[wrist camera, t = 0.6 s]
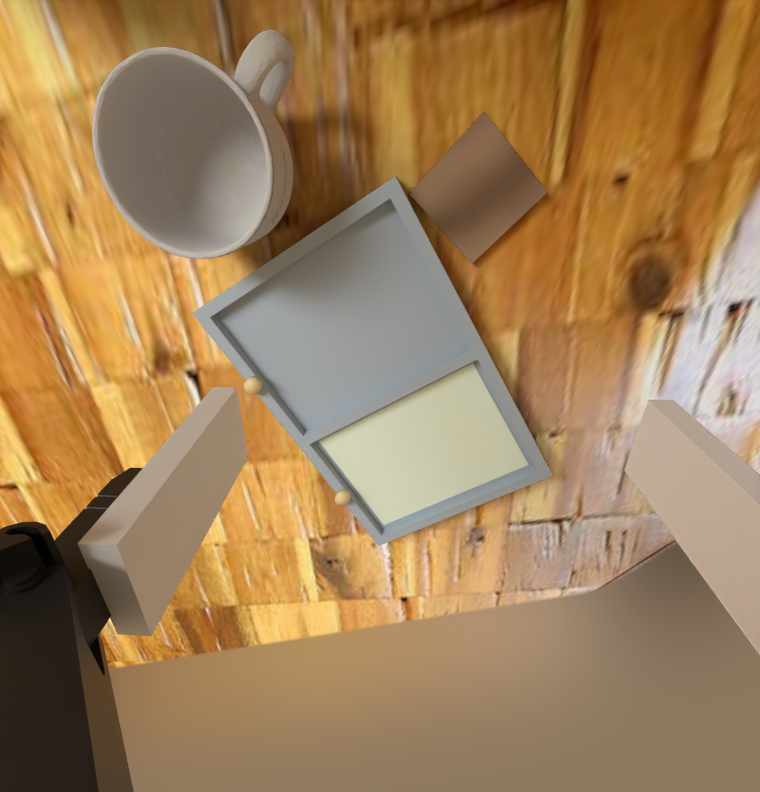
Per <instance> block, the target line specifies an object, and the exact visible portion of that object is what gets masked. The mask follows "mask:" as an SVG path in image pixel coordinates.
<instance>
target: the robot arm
mask: <svg viewBox="0 0 760 792" xmlns="http://www.w3.org/2000/svg"><path fill="white" fill-rule="evenodd" d="M247 458H248V454H247V448H246V442H245V436H244V430H243V424H242V418H241V412H240V406H239V400H238V394H237V388H228V387H213V388H212V389H211V390H210V392H209V393H208V394H207V395H206V396H205V397H204V398H203V400H202V401H201V402H200V403H199V404H198V405H197V407H196V408H195V409H194V410H193V411H192V412H191V413H190V415H189V416H188V417H187V418H186V419H185V420H184V421H183V423H182V424H181V425H180V426H179V427H178V428H177V430H176V431H175V432H174V433H173V434H172V435H171V436H170V438H169V439H168V440H167V441H166V442H165V443H164V445H163V446H162V447H161V448H160V449H159V450H158V451H157V453H156V454H155V455H154V456H153V457H152V458H151V459H150V461H149V462H148V463H147V464H146V465H145V466H144V468H129V469H128V470H126V471H125V472H123V473H121V474H120V475H118V476H117V477H115V478H114V479H112V480H111V481H110V482H109V483H108V484H107V485H106V486H105V487H104V488H103V489H102V490H101V492H100V493H99V494H98V497H95V498H94V499H93V500H92V501H91V502H90V503H89V504H88V505H87V509H84V510H83V511H82V512H81V513H80V514H79V515H78V516H77V517H76V518H75V519H74V520H73V521H72V522H71V524H70V525H69V526H68V527H67V528H66V529H65V530H64V531H63V532H62V533H61V534H60V535H59V536H58V537H57V538H56V540H55V541H54V539H53V537H52V535H51V533H50V531H49V529H48V528H47V526H46V525H45V524H42V523H39V522H22V523H18V524H14V525H10V526H6V527H4V528H2V529H0V792H133V787H132V782H131V777H130V772H129V767H128V762H127V758H126V753H125V748H124V743H123V738H122V733H121V728H120V724H119V719H118V714H117V709H116V704H115V699H114V694H113V690H112V684H111V679H110V675H109V670H108V665H107V660H106V655H105V650H104V645H103V642H102V640H101V638H100V635H99V633H100V632H101V630H102V629H103V627H104V626H105V624H106V623H107V621H108V620H109V618H111V620H112V623H113V625H114V627H115V629H116V632H117V634H124V635H143V636H152V634H153V632H154V631H155V629H156V627H157V625H158V623H159V621H160V619H161V618H162V616H163V614H164V612H165V610H166V608H167V606H168V605H169V603H170V601H171V599H172V597H173V595H174V593H175V592H176V590H177V588H178V586H179V584H180V582H181V580H182V579H183V577H184V575H185V573H186V571H187V569H188V567H189V566H190V564H191V562H192V560H193V558H194V556H195V554H196V553H197V551H198V549H199V547H200V545H201V543H202V541H203V540H204V538H205V536H206V534H207V532H208V530H209V528H210V527H211V525H212V523H213V521H214V519H215V517H216V515H217V514H218V512H219V510H220V508H221V506H222V504H223V502H224V501H225V499H226V497H227V495H228V493H229V491H230V489H231V487H232V486H233V484H234V482H235V480H236V478H237V476H238V474H239V473H240V471H241V469H242V467H243V465H244V463H245V461H246V460H247ZM625 472H626V473H627V475H628V476H629V477H630V479H631V480H632V481H633V483H634V484H635V485H636V487H637V488H638V490H639V491H640V492H641V494H642V495H643V496H644V498H645V499H646V500H647V502H648V503H649V505H650V506H651V507H652V509H653V510H654V511H655V513H656V514H657V516H658V517H659V518H660V520H661V521H662V522H663V524H664V525H665V526H666V528H667V529H668V531H669V532H670V533H671V535H672V536H673V537H674V539H675V540H676V541H677V543H678V544H679V546H680V547H681V548H682V550H683V551H684V552H685V554H686V555H687V556H688V558H689V559H690V561H691V562H692V563H693V565H694V566H695V567H696V569H697V570H698V571H699V573H700V574H701V576H702V577H703V578H704V580H705V581H706V582H707V584H708V585H709V586H710V588H711V589H712V591H713V592H714V593H715V595H716V596H717V597H718V599H719V600H720V601H721V603H722V604H723V605H724V607H725V608H726V610H727V611H728V612H729V614H730V615H731V616H732V618H733V619H734V621H735V622H736V623H737V625H738V626H739V627H740V629H741V630H742V631H743V633H744V634H745V636H746V637H747V638H748V640H749V641H750V642H751V644H752V645H753V646H754V648H755V649H756V650H757V652H758V653H759V655H760V475H759V474H758V473H757V472H756V471H755V470H754V469H752V468H751V467H750V466H749V465H748V464H747V463H745V462H744V461H743V460H742V459H741V458H740V457H739V456H737V455H736V454H735V453H734V452H733V451H732V450H730V449H729V448H728V447H727V446H726V445H725V444H723V443H722V442H721V441H720V440H719V439H718V438H716V437H715V436H714V435H713V434H712V433H711V432H709V431H708V430H707V429H706V428H705V427H704V426H702V425H701V424H700V423H699V422H698V421H697V420H695V419H694V418H693V417H692V416H691V415H690V414H688V413H687V412H686V411H685V410H684V409H683V408H681V407H680V406H679V405H678V404H677V403H676V402H675V401H671V400H648V403H647V406H646V409H645V411H644V414H643V417H642V420H641V423H640V426H639V429H638V432H637V435H636V438H635V441H634V444H633V447H632V449H631V452H630V455H629V458H628V461H627V464H626V467H625Z"/></svg>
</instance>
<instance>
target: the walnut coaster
mask: <svg viewBox="0 0 760 792" xmlns="http://www.w3.org/2000/svg"><path fill="white" fill-rule="evenodd" d="M546 193H547V191H546V190H545V188H544V187H543V186H542V185H541V183H540V182H539V181H538V180H537V178H536V177H535V176H534V174H533V173H532V172H531V171H530V169H529V168H528V167H527V166H526V164H525V163H524V162H523V160H522V159H521V158H520V157H519V155H518V154H517V153H516V151H515V150H514V149H513V148H512V146H511V145H510V144H509V143H508V141H507V140H506V139H505V137H504V136H503V135H502V134H501V132H500V131H499V130H498V129H497V127H496V126H495V125H494V123H493V122H492V121H491V120H490V118H489V117H488V116H487V115H486V113H485V112H483V113H482V114H481V115H480V116H479V117H478V119H477V120H476V121H475V122H474V123H473V124H472V125H471V126H470V127H469V128H468V129H467V131H466V132H465V133H464V134H463V135H462V136H461V137H460V138H459V139H458V140H457V142H456V143H455V144H454V145H453V146H452V147H451V148H450V149H449V150H448V151H447V153H446V154H445V155H444V156H443V157H442V158H441V159H440V160H439V161H438V162H437V164H436V165H435V166H434V167H433V168H432V169H431V170H430V171H429V172H428V173H427V175H426V176H425V177H424V178H423V179H422V180H421V181H420V182H419V183H418V184H417V186H416V187H415V188H414V189H413V190H412V191H411V192H410V193H409V195H410V196H411V197H412V198H413V199H414V200H415V201H416V202H417V204H418V205H419V206H420V207H421V208H422V209H423V210H424V211H425V212H426V213H427V215H428V216H429V217H430V218H431V219H432V220H433V221H434V222H435V223H436V225H437V226H438V227H439V228H440V229H441V230H442V231H443V232H444V233H445V234H446V236H447V237H448V238H449V239H450V240H451V241H452V242H453V243H454V244H455V245H456V247H457V248H458V249H459V250H460V251H461V252H462V253H463V254H464V255H465V257H466V258H467V259H468V260H469V261H470V262H471V263H473V262H474V261H476V260H477V259H478V258H479V257H480V256H481V255H482V254H483V253H484V252H485V251H486V250H487V249H488V248H489V247H490V246H491V245H492V244H493V243H494V242H496V241H497V240H498V239H499V238H500V237H501V236H502V235H503V234H504V233H505V232H506V231H507V230H508V229H509V228H510V227H511V226H512V225H513V224H514V223H516V222H517V221H518V220H519V219H520V218H521V217H522V216H523V215H524V214H525V213H526V212H527V211H528V210H529V209H530V208H531V207H532V206H533V205H534V204H536V203H537V202H538V201H539V200H540V199H541V198H542V197H543V196H544V195H545V194H546Z"/></svg>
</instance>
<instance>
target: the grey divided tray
mask: <svg viewBox="0 0 760 792" xmlns="http://www.w3.org/2000/svg"><path fill="white" fill-rule="evenodd" d="M193 315H194V316H195V317H196V318H197V320H198V321H199V322H200V323H201V325H202V326H203V327H204V328H205V330H206V331H207V332H208V333H209V335H210V336H211V337H212V338H213V340H214V341H215V342H216V343H217V345H218V346H219V347H220V348H221V350H222V351H223V352H224V353H225V355H226V356H227V357H228V358H229V360H230V361H231V362H232V363H233V365H234V366H235V367H236V368H237V370H238V371H239V372H240V373H241V375H242V376H243V377H244V378H245V380H246V382H245V383H244V389H245V391H246V392H247V393H249V394H251V395H255V394H257V395H258V396H259V397H260V398H261V400H262V401H263V402H264V403H265V405H266V406H267V407H268V408H269V410H270V411H271V412H272V413H273V415H274V416H275V417H276V418H277V420H278V421H279V422H280V423H281V425H282V426H283V427H284V428H285V430H286V431H287V432H288V433H289V435H290V436H291V437H292V438H293V440H294V441H295V442H296V443H297V445H298V446H299V447H300V448H301V450H302V451H303V452H304V453H305V455H306V456H307V457H308V458H309V460H310V461H311V462H312V463H313V465H314V466H315V467H316V468H317V470H318V471H319V472H320V473H321V475H322V476H323V477H324V478H325V480H326V481H327V482H328V483H329V485H330V486H331V487H332V488H333V490H334V491H335V492H336V498H335V502H336V503H337V504H338V505H340V506H347V507H348V508H349V510H350V511H351V512H352V513H353V515H354V516H355V517H356V518H357V520H358V521H359V522H360V523H361V525H362V526H363V527H364V528H365V530H366V531H367V532H368V533H369V535H370V536H371V537H372V538H373V540H374V541H375V542H376V543H377V545H378V546H380V545H382V544H385V543H387V542H390V541H392V540H395V539H397V538H400V537H402V536H404V535H407V534H409V533H412V532H414V531H417V530H419V529H422V528H424V527H427V526H429V525H432V524H434V523H437V522H439V521H442V520H444V519H447V518H449V517H452V516H454V515H457V514H459V513H462V512H464V511H467V510H469V509H471V508H474V507H476V506H479V505H481V504H484V503H486V502H489V501H491V500H494V499H496V498H499V497H501V496H504V495H506V494H509V493H511V492H514V491H516V490H519V489H521V488H524V487H526V486H529V485H531V484H534V483H536V482H539V481H541V480H543V479H546V478H548V477H551V476H553V475H552V473H551V471H550V469H549V467H548V465H547V463H546V461H545V459H544V457H543V455H542V453H541V451H540V449H539V448H538V446H537V444H536V442H535V440H534V438H533V436H532V434H531V432H530V430H529V428H528V427H527V425H526V423H525V421H524V419H523V417H522V415H521V413H520V411H519V409H518V408H517V406H516V404H515V402H514V400H513V398H512V396H511V394H510V392H509V390H508V388H507V387H506V385H505V383H504V381H503V379H502V377H501V375H500V373H499V371H498V369H497V368H496V366H495V364H494V362H493V360H492V358H491V356H490V354H489V352H488V350H487V349H486V347H485V345H484V343H483V341H482V339H481V337H480V335H479V333H478V331H477V329H476V328H475V326H474V324H473V322H472V320H471V318H470V316H469V314H468V312H467V310H466V309H465V307H464V305H463V303H462V301H461V299H460V297H459V295H458V293H457V291H456V289H455V288H454V286H453V284H452V282H451V280H450V278H449V276H448V274H447V272H446V270H445V269H444V267H443V265H442V263H441V261H440V259H439V257H438V255H437V253H436V251H435V249H434V248H433V246H432V244H431V242H430V240H429V238H428V236H427V234H426V232H425V230H424V229H423V227H422V225H421V223H420V221H419V219H418V217H417V215H416V213H415V211H414V210H413V208H412V206H411V204H410V202H409V200H408V198H407V196H406V194H405V192H404V190H403V189H402V187H401V185H400V183H399V181H398V179H397V177H396V176H395V177H394V178H392V179H391V180H389V181H388V182H386V183H385V184H383V185H382V186H380V187H379V188H377V189H376V190H374V191H373V192H371V193H370V194H368V195H367V196H365V197H364V198H362V199H361V200H359V201H358V202H356V203H355V204H354V205H352V206H351V207H349V208H348V209H346V210H345V211H343V212H342V213H340V214H339V215H337V216H336V217H334V218H333V219H331V220H330V221H328V222H327V223H325V224H324V225H322V226H321V227H319V228H318V229H316V230H315V231H313V232H312V233H311V234H309V235H308V236H306V237H305V238H303V239H302V240H300V241H299V242H297V243H296V244H294V245H293V246H291V247H290V248H288V249H287V250H285V251H284V252H282V253H281V254H279V255H278V256H276V257H275V258H273V259H272V260H270V261H269V262H268V263H266V264H265V265H263V266H262V267H260V268H259V269H257V270H256V271H254V272H253V273H251V274H250V275H248V276H247V277H245V278H244V279H242V280H241V281H239V282H238V283H236V284H235V285H233V286H232V287H230V288H229V289H227V290H226V291H225V292H223V293H222V294H220V295H219V296H217V297H216V298H214V299H213V300H211V301H210V302H208V303H207V304H205V305H204V306H202V307H201V308H199V309H198V310H196V311H195V312H193Z"/></svg>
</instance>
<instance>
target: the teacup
mask: <svg viewBox="0 0 760 792" xmlns="http://www.w3.org/2000/svg"><path fill="white" fill-rule="evenodd" d="M294 65H295V52H294V50H293V48H292V46H291V44H290V43H289V42H288V40H287V39H286V38H285V37H284V36H283V35H282V34H281V33H280V32H278V31H275V30H271V29H269V30H266V31H263V32H261V33H259V34H258V35H257V36H256V37H255V38H254V39H253V40H252V41H251V42H250V43H249V45H248V46H247V47H246V49H245V50H244V52H243V54H242V56H241V58H240V60H239V62H238V65H237V69H236V72H235V76H234V77H231V76H230V75H228V74H227V73H226V72H225V71H223V70H222V69H221V68H219V67H218V66H216V65H215V64H214V63H212V62H210V61H209V60H207V59H205V58H203V57H201V56H200V55H197V54H195V53H192V52H190V51H186V50H183V49H180V48H172V47H154V48H148V49H145V50H141V51H139V52H136V53H134V54H132V55H131V56H129V57H128V58H127V59H125V60H124V61H122V62H121V63H120V64H118V65H117V66H116V67H115V68H114V69H113V70H112V72H111V73H110V74H109V75H108V77H107V78H106V80H105V82H104V83H103V85H102V87H101V89H100V91H99V94H98V97H97V100H96V104H95V108H94V114H93V125H92V138H93V149H94V155H95V159H96V163H97V167H98V170H99V174H100V176H101V178H102V181H103V183H104V185H105V188H106V190H107V192H108V194H109V195H110V197H111V199H112V200H113V202H114V204H115V205H116V207H117V209H118V210H119V212H120V213H121V214H122V215H123V217H124V218H125V219H126V220H127V222H128V223H129V224H130V225H131V226H132V227H133V229H134V230H135V231H137V232H138V233H139V234H141V235H142V236H143V237H144V238H145V239H147V240H148V241H149V242H151V243H152V244H154V245H155V246H157V247H159V248H161V249H163V250H164V251H167V252H169V253H171V254H174V255H177V256H181V257H186V258H193V259H211V258H217V257H221V256H224V255H228V254H230V253H232V252H234V251H236V250H238V249H239V248H242V247H245V246H247V245H249V244H252V243H254V242H256V241H257V240H259V239H261V238H262V237H264V236H265V235H266V234H268V233H269V232H270V231H271V230H272V229H273V228H274V227H275V226H276V225H277V224H278V222H279V221H280V220H281V218H282V216H283V215H284V213H285V211H286V209H287V206H288V204H289V201H290V197H291V194H292V188H293V176H294V174H293V161H292V155H291V151H290V147H289V144H288V141H287V138H286V136H285V134H284V131H283V129H282V127H281V126H280V124H279V122H278V120H277V119H276V117H275V116H274V114H275V112H276V110H277V106H278V102H279V100H280V98H281V96H282V94H283V92H284V90H285V88H286V86H287V84H288V81H289V79H290V77H291V74H292V71H293V69H294Z"/></svg>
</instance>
